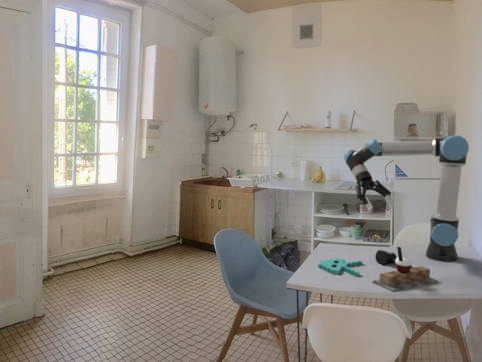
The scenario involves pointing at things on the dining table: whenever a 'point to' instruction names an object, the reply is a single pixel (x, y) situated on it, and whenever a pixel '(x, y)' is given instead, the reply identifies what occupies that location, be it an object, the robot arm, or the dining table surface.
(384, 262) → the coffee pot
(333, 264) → the alien figure
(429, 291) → the dining table surface
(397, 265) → the cocoa
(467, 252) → the dining table surface
